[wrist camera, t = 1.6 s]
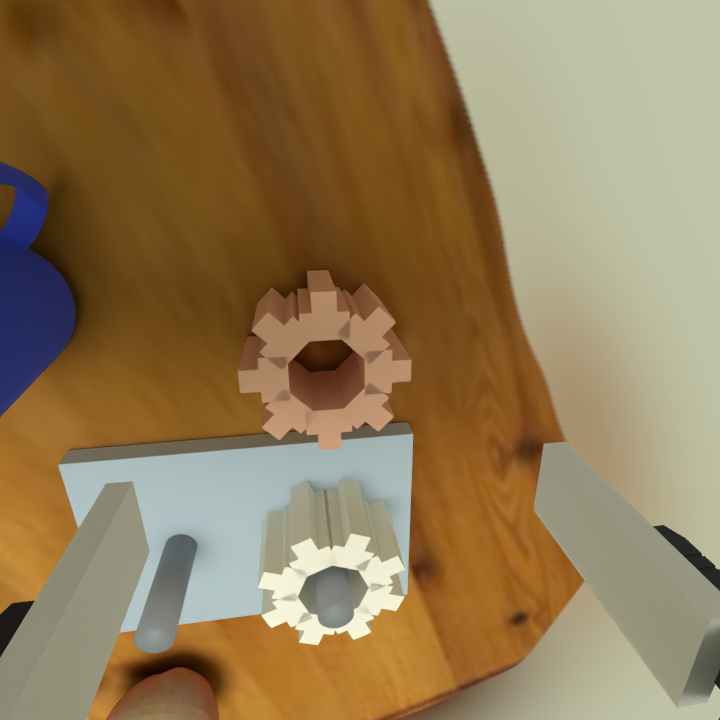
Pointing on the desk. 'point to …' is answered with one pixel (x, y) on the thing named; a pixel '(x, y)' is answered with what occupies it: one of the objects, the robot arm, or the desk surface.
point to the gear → (328, 558)
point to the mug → (28, 293)
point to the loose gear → (323, 388)
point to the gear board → (234, 516)
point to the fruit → (168, 698)
